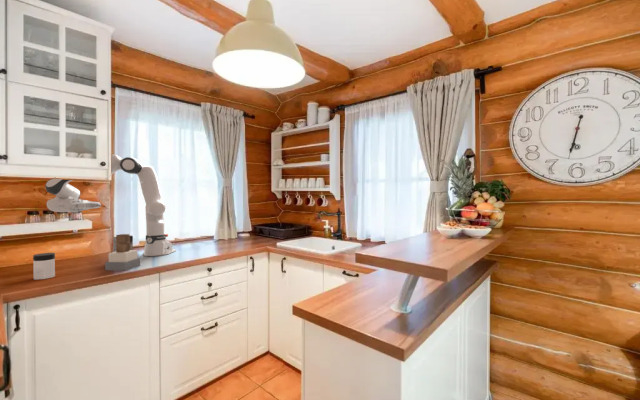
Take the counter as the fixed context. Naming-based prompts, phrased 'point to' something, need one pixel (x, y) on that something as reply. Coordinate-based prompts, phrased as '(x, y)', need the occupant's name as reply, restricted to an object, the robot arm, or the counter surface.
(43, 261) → the jar
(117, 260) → the tower top
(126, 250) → the walnut block
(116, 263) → the tower base
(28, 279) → the counter surface
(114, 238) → the coffee box
